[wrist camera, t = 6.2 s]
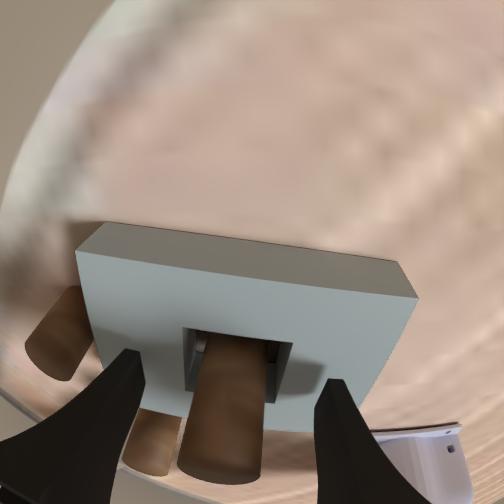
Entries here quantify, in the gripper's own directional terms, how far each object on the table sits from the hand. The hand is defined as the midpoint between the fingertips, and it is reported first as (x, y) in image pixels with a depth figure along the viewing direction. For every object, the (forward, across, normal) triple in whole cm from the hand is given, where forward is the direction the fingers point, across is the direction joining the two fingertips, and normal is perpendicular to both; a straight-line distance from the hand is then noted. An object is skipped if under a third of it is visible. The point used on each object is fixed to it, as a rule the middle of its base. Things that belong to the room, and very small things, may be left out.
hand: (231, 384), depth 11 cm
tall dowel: (+3, 0, 0) cm, 3 cm away
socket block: (+3, 0, 0) cm, 3 cm away
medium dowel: (+3, +4, +7) cm, 9 cm away
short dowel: (+3, +8, 0) cm, 9 cm away
